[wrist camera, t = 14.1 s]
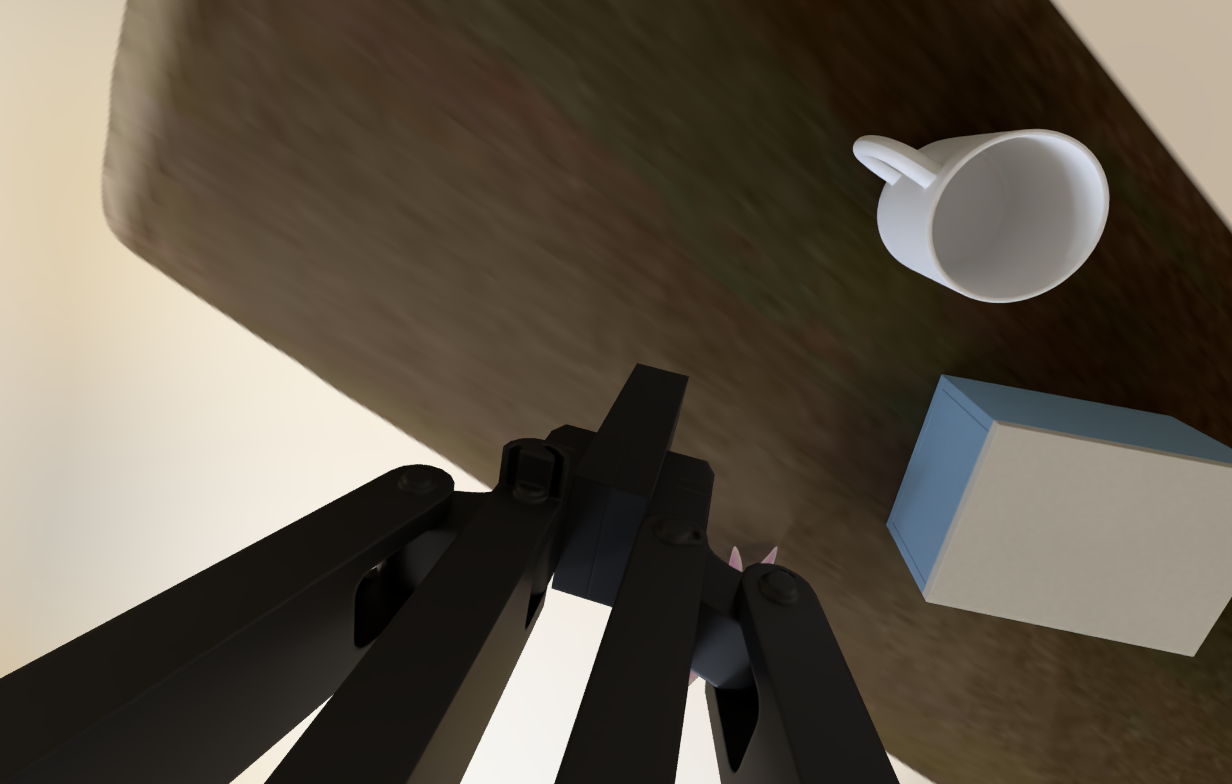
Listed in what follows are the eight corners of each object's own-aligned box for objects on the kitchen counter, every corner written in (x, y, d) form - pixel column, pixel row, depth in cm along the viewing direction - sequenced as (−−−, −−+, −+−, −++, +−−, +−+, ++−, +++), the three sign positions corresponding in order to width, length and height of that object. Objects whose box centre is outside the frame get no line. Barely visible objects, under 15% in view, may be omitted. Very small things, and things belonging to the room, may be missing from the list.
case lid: (1292, 474, 35) (1305, 481, 34) (1184, 647, 39) (1193, 657, 38) (993, 419, 36) (999, 424, 35) (921, 593, 40) (925, 601, 40)
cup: (951, 294, 42) (1024, 332, 32) (800, 202, 41) (830, 213, 31) (1041, 181, 39) (1151, 186, 29) (880, 80, 38) (939, 51, 28)
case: (1171, 415, 43) (1275, 471, 35) (1092, 565, 47) (1169, 644, 39) (941, 373, 44) (993, 418, 36) (886, 524, 48) (921, 593, 40)
